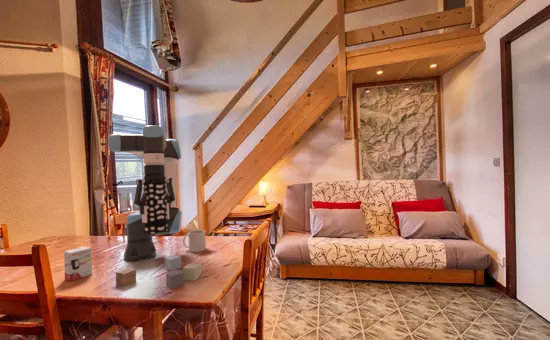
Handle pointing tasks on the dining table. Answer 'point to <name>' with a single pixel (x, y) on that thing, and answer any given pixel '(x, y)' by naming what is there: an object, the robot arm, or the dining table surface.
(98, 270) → the dining table surface
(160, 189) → the spotted tube
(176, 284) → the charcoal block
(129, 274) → the walnut block
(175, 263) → the dusty blue block
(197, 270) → the sage block
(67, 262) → the ink box
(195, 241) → the mug
